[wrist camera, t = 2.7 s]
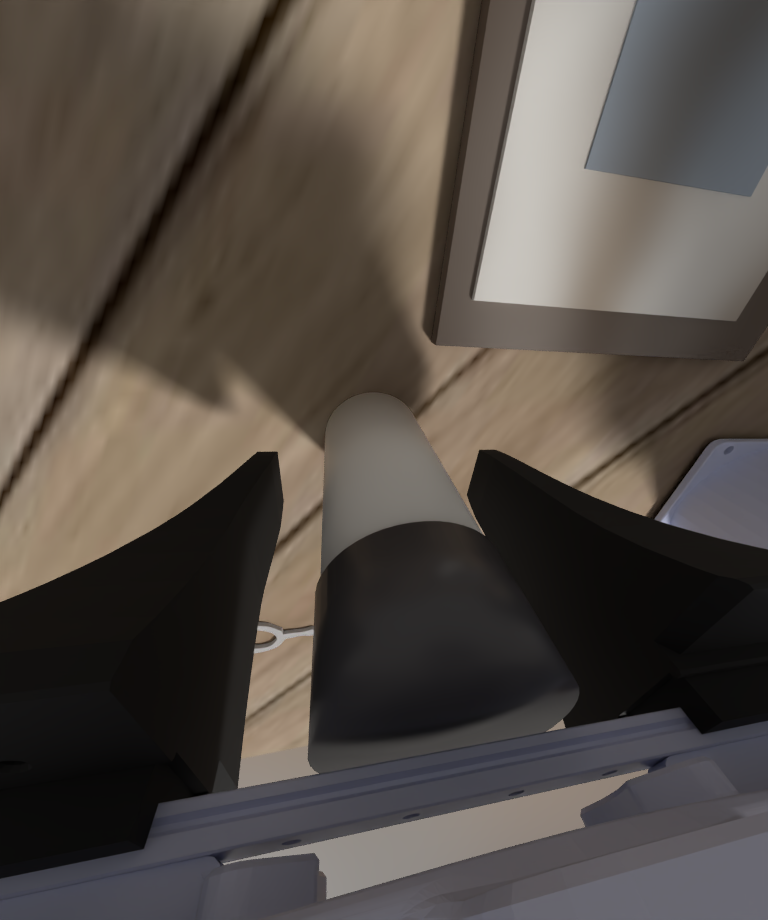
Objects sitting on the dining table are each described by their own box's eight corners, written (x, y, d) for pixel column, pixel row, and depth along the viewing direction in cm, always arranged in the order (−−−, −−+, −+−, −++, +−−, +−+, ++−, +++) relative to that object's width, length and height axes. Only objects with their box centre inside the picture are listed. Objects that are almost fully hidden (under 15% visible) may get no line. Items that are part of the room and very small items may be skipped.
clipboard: (1335, -575, 5) (1645, -835, 4) (728, 357, 14) (768, 366, 12) (687, -1376, 3) (949, -2580, 2) (431, 341, 11) (443, 350, 10)
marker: (426, 390, 12) (631, 647, 4) (412, 475, 14) (527, 756, 6) (321, 388, 12) (296, 693, 3) (323, 477, 14) (314, 798, 5)
